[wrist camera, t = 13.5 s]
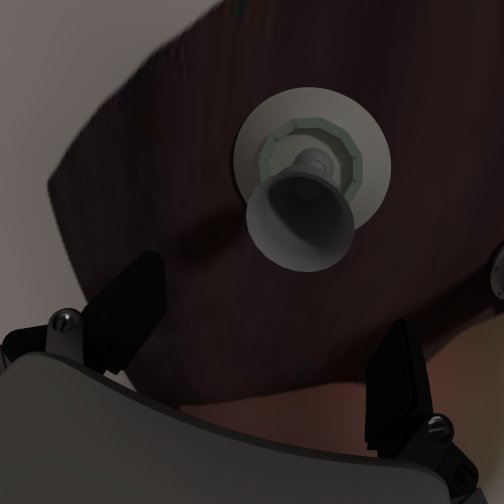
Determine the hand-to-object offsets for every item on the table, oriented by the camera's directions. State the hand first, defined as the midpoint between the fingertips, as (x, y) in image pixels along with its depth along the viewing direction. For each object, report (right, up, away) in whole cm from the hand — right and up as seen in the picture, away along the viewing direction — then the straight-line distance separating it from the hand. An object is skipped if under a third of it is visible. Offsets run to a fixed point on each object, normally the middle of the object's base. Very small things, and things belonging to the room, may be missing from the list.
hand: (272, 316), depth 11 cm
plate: (+7, +13, +23) cm, 28 cm away
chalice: (+7, +13, +23) cm, 27 cm away
